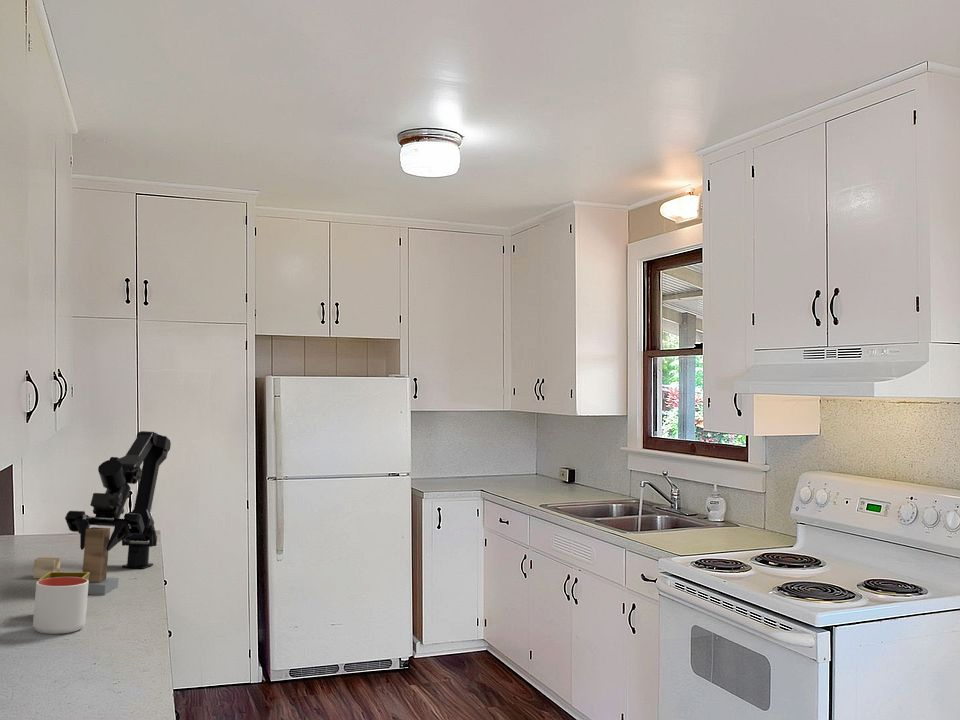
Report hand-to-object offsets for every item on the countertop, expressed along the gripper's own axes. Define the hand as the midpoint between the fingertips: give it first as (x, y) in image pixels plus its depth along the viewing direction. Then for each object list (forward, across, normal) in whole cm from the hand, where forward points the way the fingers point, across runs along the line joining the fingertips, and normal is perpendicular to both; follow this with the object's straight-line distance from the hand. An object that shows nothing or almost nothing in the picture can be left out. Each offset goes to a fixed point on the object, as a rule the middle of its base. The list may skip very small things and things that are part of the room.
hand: (94, 549), depth 219 cm
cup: (+33, +8, -18) cm, 38 cm away
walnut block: (+5, 0, +7) cm, 8 cm away
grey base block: (+7, 0, +9) cm, 11 cm away
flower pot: (+25, +3, -10) cm, 28 cm away
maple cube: (-3, -18, +18) cm, 26 cm away
